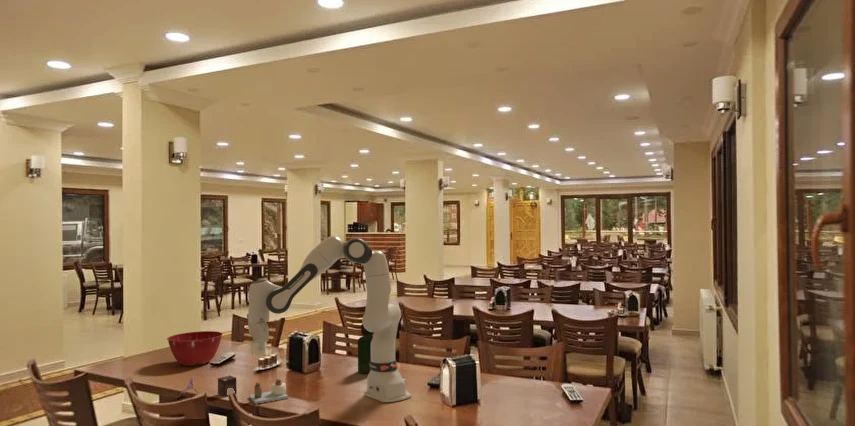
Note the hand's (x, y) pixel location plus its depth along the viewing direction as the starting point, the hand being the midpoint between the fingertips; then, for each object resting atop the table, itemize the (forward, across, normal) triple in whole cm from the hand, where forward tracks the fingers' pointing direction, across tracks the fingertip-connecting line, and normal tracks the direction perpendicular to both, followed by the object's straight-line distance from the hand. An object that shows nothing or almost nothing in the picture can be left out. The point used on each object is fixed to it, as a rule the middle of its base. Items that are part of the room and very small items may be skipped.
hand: (258, 348), depth 238 cm
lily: (+23, +24, +24) cm, 42 cm away
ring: (+2, 0, 0) cm, 2 cm away
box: (+23, +16, +10) cm, 30 cm away
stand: (+22, 0, -4) cm, 23 cm away
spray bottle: (+22, +14, -59) cm, 65 cm away
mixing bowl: (+24, +85, +13) cm, 90 cm away
